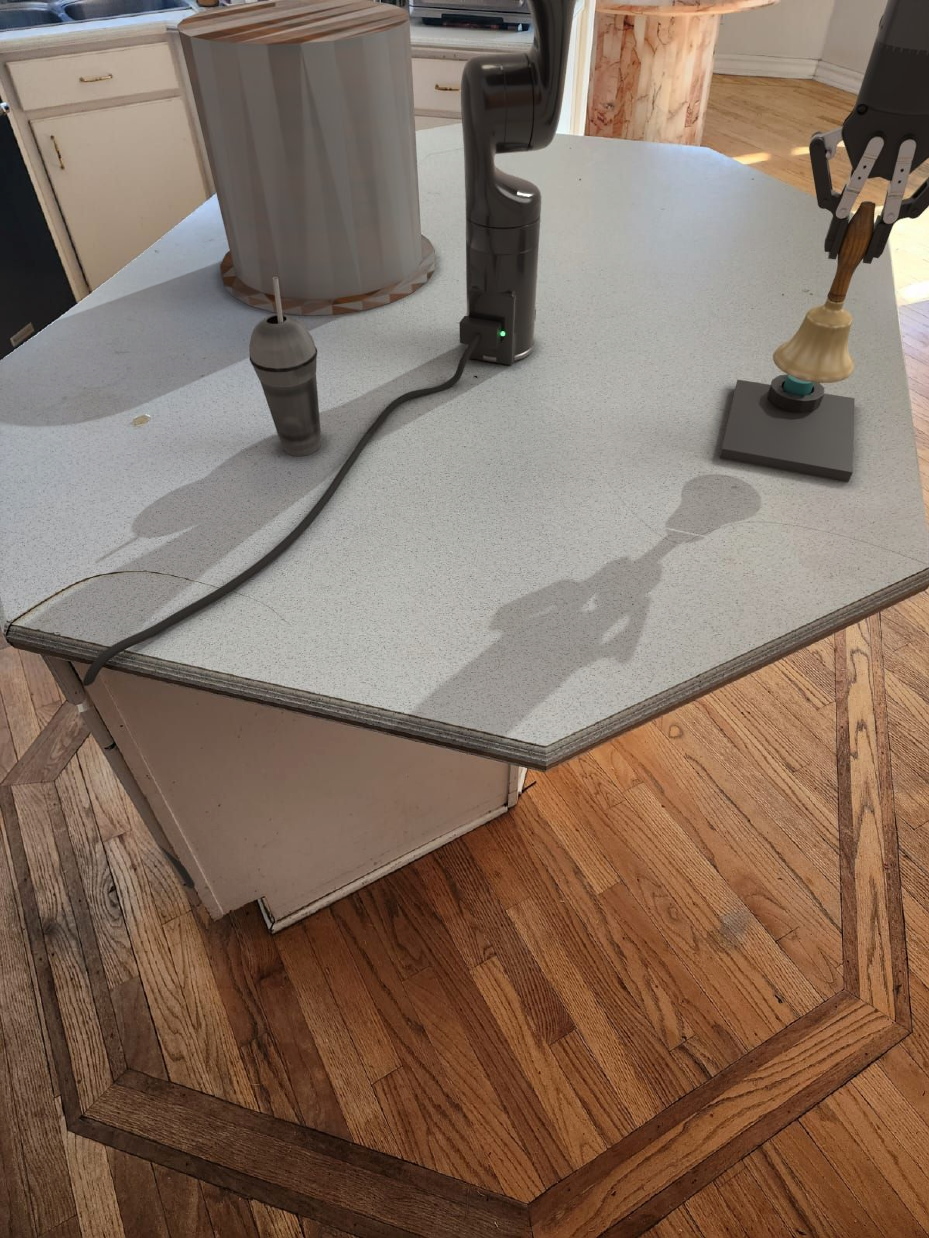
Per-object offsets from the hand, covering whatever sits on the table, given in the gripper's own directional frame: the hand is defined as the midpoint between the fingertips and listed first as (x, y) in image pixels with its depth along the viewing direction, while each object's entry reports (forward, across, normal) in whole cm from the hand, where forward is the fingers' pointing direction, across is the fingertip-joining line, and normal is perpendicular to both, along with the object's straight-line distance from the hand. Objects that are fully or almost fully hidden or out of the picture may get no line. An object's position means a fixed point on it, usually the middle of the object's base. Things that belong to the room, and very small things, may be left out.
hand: (849, 257), depth 73 cm
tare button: (+19, 0, +8) cm, 20 cm away
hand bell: (+11, 0, 0) cm, 11 cm away
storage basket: (+22, -74, +28) cm, 82 cm away
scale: (+21, 0, +3) cm, 21 cm away
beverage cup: (+22, -54, -18) cm, 61 cm away
